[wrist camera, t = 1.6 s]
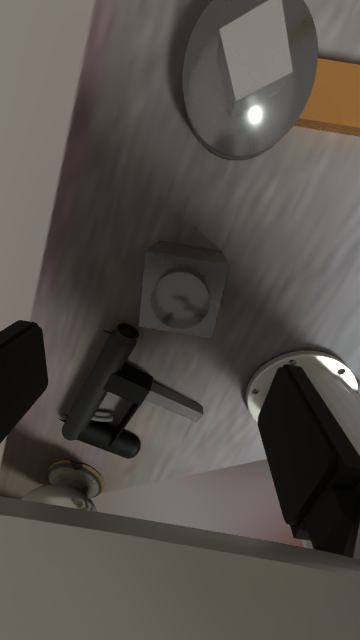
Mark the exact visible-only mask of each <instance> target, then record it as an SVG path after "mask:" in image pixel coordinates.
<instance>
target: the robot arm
mask: <svg viewBox="0 0 360 640" xmlns="http://www.w3.org/2000/svg"><path fill="white" fill-rule="evenodd" d="M47 385H48V375H47V366H46V358H45V350H44V341H43V333H42V329H41V328H40V327H39V326H38V324H37V323H35V322H29V321H22V320H19V321H17V322H15V323H13V324H12V325H10V326H9V327H7V328H5V329H4V330H2V331H0V443H1V442H2V441H3V440H4V438H5V437H6V436H7V435H8V434H9V432H10V431H11V430H12V429H13V428H14V427H15V425H16V424H17V423H18V422H19V421H20V419H21V418H22V417H23V416H24V415H25V413H26V412H27V411H28V410H29V409H30V408H31V406H32V405H33V404H34V403H35V402H36V400H37V399H38V398H39V397H40V396H41V395H42V393H43V392H44V391H45V390H46V388H47ZM246 402H247V406H248V410H249V412H250V414H251V416H252V417H253V419H254V420H255V421H256V422H257V423H258V427H259V431H260V434H261V438H262V442H263V445H264V449H265V452H266V456H267V460H268V463H269V467H270V471H271V474H272V478H273V481H274V485H275V488H276V492H277V496H278V499H279V503H280V507H281V510H282V514H283V517H284V520H285V522H286V523H287V524H289V525H290V527H291V530H292V533H293V537H294V538H297V539H302V541H303V544H304V547H305V548H304V547H298V546H293V545H288V544H282V543H278V542H272V541H267V540H261V539H256V538H250V537H244V536H238V535H231V534H226V533H220V532H214V531H208V530H202V529H197V528H191V527H185V526H179V525H173V524H167V523H161V522H155V521H149V520H143V519H137V518H130V517H125V516H119V515H112V514H107V513H101V512H95V511H88V510H82V509H76V508H70V507H64V506H58V505H52V504H46V503H39V502H33V501H27V500H20V499H14V498H8V497H1V496H0V640H360V397H359V396H358V383H357V380H356V378H355V375H354V374H353V373H352V371H351V370H350V369H349V368H348V367H347V366H346V365H345V364H344V363H343V362H342V361H341V360H339V359H338V358H336V357H334V356H332V355H330V354H327V353H324V352H318V351H296V352H290V353H287V354H283V355H280V356H278V357H276V358H274V359H272V360H270V361H268V362H267V363H265V364H264V365H263V366H261V367H260V368H259V369H258V370H257V371H256V372H255V374H254V375H253V376H252V378H251V379H250V381H249V384H248V386H247V391H246Z"/></svg>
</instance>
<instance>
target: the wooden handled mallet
mask: <svg viewBox="0 0 360 640" xmlns="http://www.w3.org/2000/svg"><path fill="white" fill-rule="evenodd" d="M182 85H183V95H184V102H185V109H186V114H187V118H188V121H189V124H190V126H191V129H192V131H193V133H194V135H195V136H196V138H197V139H198V141H199V142H200V143H201V144H202V145H203V146H204V147H205V148H206V149H207V150H208V151H209V152H211V153H213V154H214V155H216V156H218V157H220V158H223V159H227V160H235V161H237V160H246V159H250V158H253V157H256V156H258V155H260V154H262V153H264V152H265V151H267V150H268V149H270V148H271V147H272V146H273V145H274V144H275V143H277V142H278V141H279V140H280V139H281V138H282V137H283V136H284V135H285V134H286V133H287V132H288V131H289V130H290V129H291V128H292V127H293V126H298V127H305V128H311V129H317V130H323V131H329V132H335V133H341V134H347V135H354V136H360V65H358V64H352V63H345V62H339V61H333V60H327V59H321V58H318V42H317V35H316V29H315V25H314V22H313V19H312V16H311V14H310V11H309V9H308V7H307V5H306V4H305V2H304V1H303V0H212V1H211V2H210V3H209V5H208V6H207V7H206V8H205V9H204V11H203V13H202V14H201V16H200V17H199V19H198V20H197V23H196V25H195V27H194V29H193V31H192V33H191V36H190V39H189V41H188V44H187V48H186V52H185V57H184V63H183V74H182Z"/></svg>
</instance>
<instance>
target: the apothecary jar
mask: <svg viewBox="0 0 360 640" xmlns="http://www.w3.org/2000/svg"><path fill="white" fill-rule="evenodd" d="M47 476H48V480H49V482H50V485H44V486H40V487H38V488H36V489H34V490H32V491H30V492H29V493H27V494H26V495H25V496H24V497H23V498H22V499H21V500H27V501H33V502H39V503H46V504H52V505H58V506H64V507H70V508H76V509H82V510H88V511H95V512H97V510H96V508H95V506H94V504H93V502H92V501H91V500H90V499H89V498H93V497H96V496H98V495H99V494H100V493H101V492H102V491H103V488H104V482H103V479H102V477H101V476H100V474H99V473H98V472H97V471H96V470H94V469H93V468H91V467H90V466H88V465H86V464H76V463H74V462H73V461H68V460H66V461H58V462H56V463H54V464H52V465H51V466H50V467H49V469H48V473H47Z"/></svg>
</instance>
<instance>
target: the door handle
mask: <svg viewBox="0 0 360 640" xmlns="http://www.w3.org/2000/svg"><path fill="white" fill-rule="evenodd" d="M103 331H105V330H103ZM105 332H107V331H105ZM107 333H109V331H108V332H107ZM109 334H111V335H110V336H109V338H108V340H107V342H106V344H105V346H104V348H103V350H102V352H101V354H100V356H99V358H98V360H97V361H96V363H95V365H94V367H93V369H92V371H91V373H90V375H89V377H88V379H87V381H86V383H85V385H84V386H83V388H82V390H81V392H80V394H79V396H78V398H77V400H76V402H75V404H74V406H73V408H72V410H71V411H70V413H69V415H66V414H64V415H65V416H67V419H66V421H65V420H61V419H59V420H61V421H63V422H65V423H64V425H63V427H62V434H63V436H64V438H66V439H67V440H76V439H77V440H79V441H82V442H85V443H87V444H90V445H93V446H95V447H98V448H101V449H103V450H106V451H109V452H111V453H114V454H117V455H119V456H122V457H125V458H128V459H129V458H133V457H134V456H136V455H137V453H138V452H139V450H140V447H141V443H140V440H139V439H138V438H136V437H133V436H131V435H128V434H126V433H123V432H122V430H123V429H124V428H125V426H126V425H127V423H128V422H129V420H130V419H131V418H132V416H133V415H134V413H135V412H136V410H137V409H138V408H139V406H140V405H141V404H142V402H143V401H144V399H145V400H148V401H150V402H152V403H155V404H157V405H159V406H161V407H164V408H166V409H168V410H171V411H173V412H175V413H177V414H180V415H182V416H184V417H187V418H189V419H191V420H193V421H196V422H197V421H198V420H199V419H200V418H201V416H202V415H203V407H202V406H200V405H198V404H197V403H195V402H193V401H191V400H189V399H187V398H185V397H183V396H181V395H179V394H177V393H175V392H173V391H171V390H169V389H167V388H165V387H163V386H161V385H159V384H157V383H154V382H152V381H153V377H152V376H150V375H148V374H146V373H144V372H142V371H140V370H138V369H136V368H134V367H132V366H130V365H128V364H127V363H125V362H126V360H127V358H128V357H129V355H130V353H131V352H132V350H133V348H134V347H135V345H136V339H137V338H138V336H139V334H138V331H137V330H136V329H135V328H134V327H132V326H130V325H128V324H119V325H118V326H117V328H116V329H115V330H114V331H113V332H112V333H111V332H110V333H109ZM107 392H111V393H113V394H115V395H118V396H120V397H122V398H125V399H127V400H129V401H132V402H134V404H133V405H132V406H131V408H130V409H129V411H128V412H127V414H126V415H125V417H124V418H123V420H122V421H121V423H120V424H119V426H118V427H117V429H113V428H111V427H108V426H106V425H103V424H101V423H98V422H96V421H102V422H108V421H113V420H114V417H113V416H95V415H94V414H95V413H96V411H97V409H98V408H99V406H100V404H101V402H102V401H103V399H104V397H105V396H106V394H107ZM57 419H58V418H57ZM93 420H94V421H93Z"/></svg>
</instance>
